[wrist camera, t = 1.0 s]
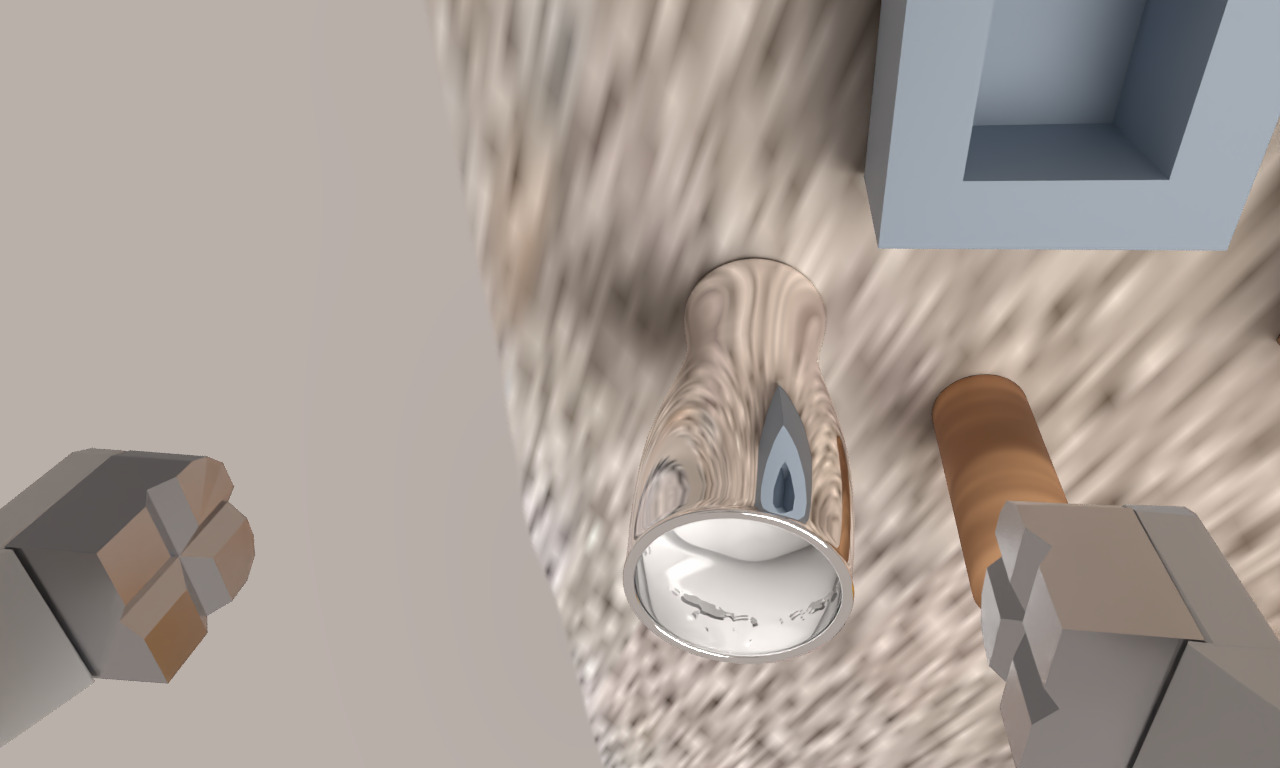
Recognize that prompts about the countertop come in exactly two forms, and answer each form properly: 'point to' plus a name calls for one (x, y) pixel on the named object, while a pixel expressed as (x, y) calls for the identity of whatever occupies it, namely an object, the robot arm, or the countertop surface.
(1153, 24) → the socket block
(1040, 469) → the dowel
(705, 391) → the beer glass
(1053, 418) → the countertop surface
